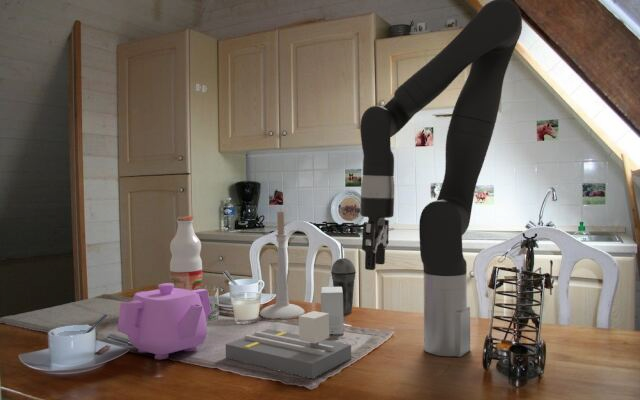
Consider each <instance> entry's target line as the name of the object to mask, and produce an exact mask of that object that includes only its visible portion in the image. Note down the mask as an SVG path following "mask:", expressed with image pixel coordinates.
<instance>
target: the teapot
mask: <svg viewBox="0 0 640 400" xmlns="http://www.w3.org/2000/svg"><path fill="white" fill-rule="evenodd" d="M157 287H158V288H157V289H152V290H144V291H137V292H135V293H134V296H133V297H132V301H126V302H125V301H124V302H121V303H120V305H119V311H118V312H119V314H118V319H117V320H118V323H117V328H116V329H117V331H118V332H120V333H122V334H124V335H126V336H127V338H128V341H129V342H130V344H131V346H133V347H134V348H136V349H137V352H138V353H149V354H154V359H155V360H165V359H167V358H170V357H169V355H170V354H172V353H175V352H179V351H184V352H193V351H196V350H198V348H197V346H198V347H199V346H201V345H204V343H205V340H206V338H207V334H208V325H207V317H209V316H210V315H211V314H212V310H211V305H210V304H211V303H210V297H209V291H208V289H205V288H203V289H197V290H192V291H190V290H186V289H180V288H174V284H172V283H170V282H166V283H165V282H163V283H159V284H158V285H157Z"/></svg>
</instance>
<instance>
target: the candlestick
mask: <svg viewBox="0 0 640 400" xmlns="http://www.w3.org/2000/svg"><path fill="white" fill-rule="evenodd" d="M276 213H277V214H276V215H277V220H276V221H277V222H276V223H277V234H274V236H275V237H276V241H277V243H278V246H277V259H276V260H277V263H276V290H275V291H276V296H275V303H274V304H271V305H268V306H266V307H264V308H263V309H261V310H260V312H259V316H260V315H261V316H263V317H262V318H264V317H267V318H266V319H268V318H284V319H283V320H290V319H297V318H299V316H300V315H303V314H306V313H305V312H306V311H305V309H304V308H302V307H301V306H299V305H298V304H293V303H290V302H289V292H288V277H287V275H288V274H287V263H286V250H285V249H286V246H285V242H286V240H287V239H286V237H287V236H288V234H287V233H286V234H285V211H283V210H282V211H281V209H280V211H277V212H276ZM261 316H260V317H261ZM285 318H286V319H285Z"/></svg>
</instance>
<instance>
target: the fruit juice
mask: <svg viewBox="0 0 640 400" xmlns="http://www.w3.org/2000/svg"><path fill="white" fill-rule="evenodd" d="M176 223H177V229H176V232H175V236H173V238H172V240H171V241H170V244H169V246H170V247H169V250H170V254H171V259H170V262H169V279H170V282H169V283H172V284H174V288H180V289H186V290H190V291H192V290H194V288H195V287H196V286H203V261H202V257H201V250H202V242H201V240H200V239H199V237H198V236H197V235H196V233H195V230H194V226H193V224H194V216H190V215H189V216H187V215H185V216H177V217H176Z"/></svg>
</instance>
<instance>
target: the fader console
mask: <svg viewBox="0 0 640 400" xmlns="http://www.w3.org/2000/svg"><path fill="white" fill-rule="evenodd" d="M228 358H229V360H232V359H233V360H232V361H236V360H238V361H237V362H240V361H241V362H240V363H244V362H246V363H245V364H248V363H250V364H249V365H252V364H253V366H256V365H258V366H257V367H260V366H263V367H262V368H264V367H267V368H266V369H268V368H271V369H270V370H272V369H276V370H275V371H277V370H280V371H279V372H281V371H284V372H283V373H285V372H288V373H287V374H289V373H292V374H291V375H293V374H296V375H295V376H297V375H300V376H299V377H301V376H304V377H303V378H305V377H309V378H314V377H316V376H318V375H320V374H322V373H324V372H326V371H327V372H329V371H331V370H333V369H335V368H336V367H335V366H337V365H339V364H341V363H343V362H345V361H346V362H348V361H350V360H352V344H349V343H343V342H337V341H334V340H328V339H325V340H322V341H320V342H319V348H318V349H315V348H310V342H305V341H300V340H299V334H295V333H291V332H285V331H281V330H274V329H270V328H268V329H264V330H262V331H255V332H254V333H253V334H246V335H244V337H242V338H239V339H236V340H233V341H231V342H228V343H226V344H225V359H228ZM349 359H350V360H349ZM347 360H348V361H347ZM346 362H345V363H346ZM343 364H344V363H343ZM341 365H342V364H341ZM339 366H340V365H339ZM334 367H335V368H334ZM337 367H338V366H337ZM332 368H333V369H332ZM330 369H331V370H330ZM328 370H329V371H328ZM327 372H326V373H327ZM324 374H325V373H324ZM322 375H323V374H322ZM320 376H321V375H320ZM318 377H319V376H318ZM309 378H308V379H309ZM316 378H317V377H316ZM314 379H315V378H314Z"/></svg>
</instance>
